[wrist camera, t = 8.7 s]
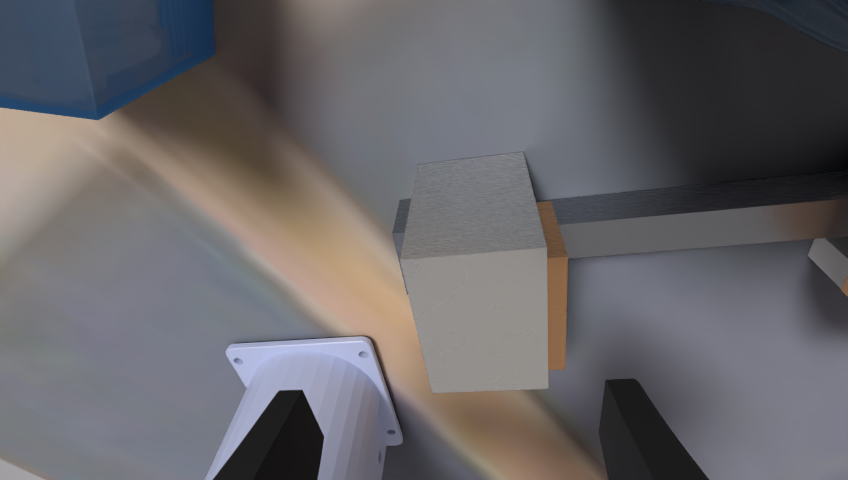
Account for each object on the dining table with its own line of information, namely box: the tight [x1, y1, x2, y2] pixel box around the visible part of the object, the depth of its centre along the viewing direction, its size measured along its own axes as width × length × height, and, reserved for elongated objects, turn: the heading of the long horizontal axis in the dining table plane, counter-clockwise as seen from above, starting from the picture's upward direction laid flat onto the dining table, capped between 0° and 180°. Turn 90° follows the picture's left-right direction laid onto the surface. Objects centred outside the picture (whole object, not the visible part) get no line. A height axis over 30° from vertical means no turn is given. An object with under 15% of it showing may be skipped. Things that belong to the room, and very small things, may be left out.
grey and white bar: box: [392, 152, 848, 393], centre depth 15 cm, size 6×22×6 cm, turn 99°
